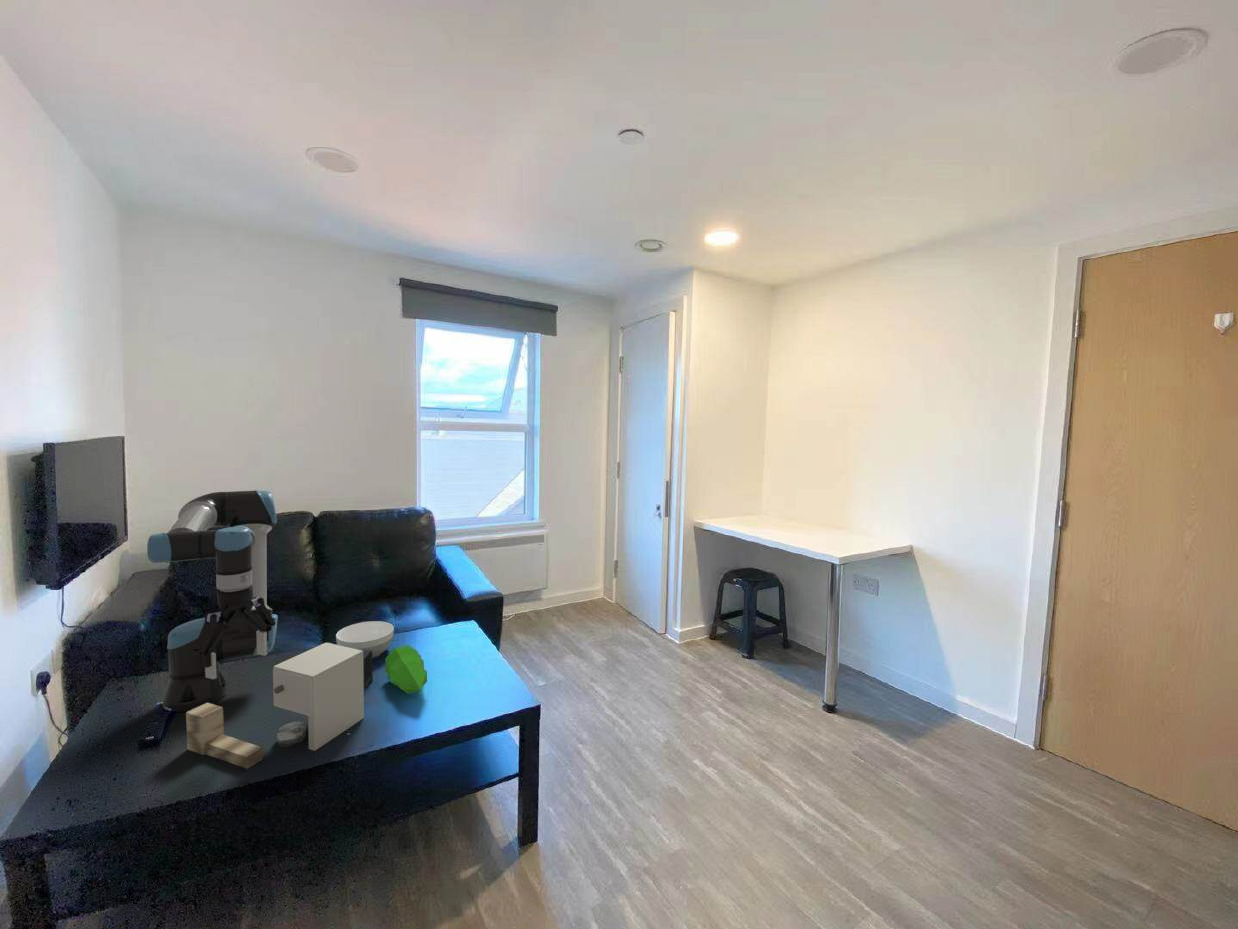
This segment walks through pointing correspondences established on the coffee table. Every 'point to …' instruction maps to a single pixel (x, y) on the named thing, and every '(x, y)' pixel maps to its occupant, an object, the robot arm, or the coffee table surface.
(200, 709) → the tan l-shaped block
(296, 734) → the grey rounded puck
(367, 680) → the small box
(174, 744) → the coffee table surface
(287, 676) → the cabinet
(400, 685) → the decorative tree
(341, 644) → the bowl
